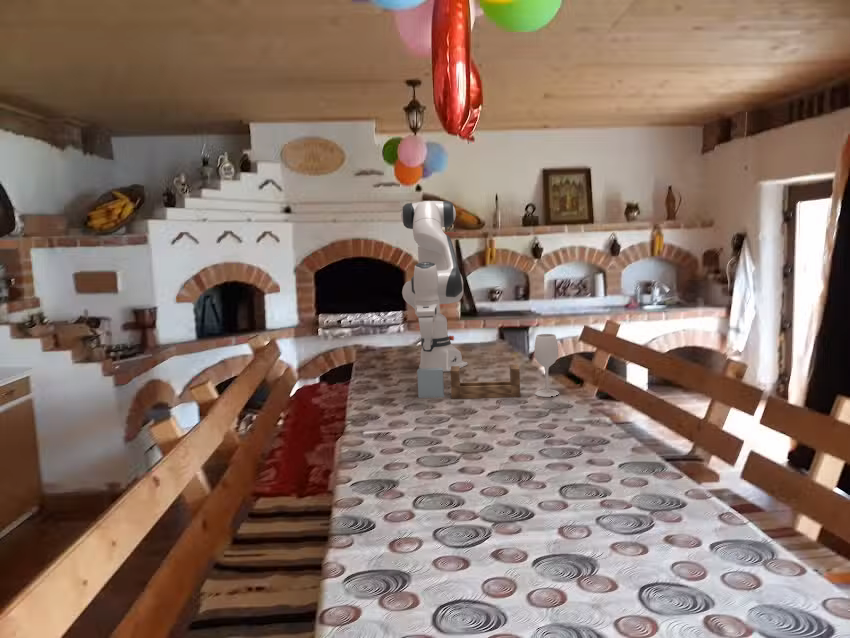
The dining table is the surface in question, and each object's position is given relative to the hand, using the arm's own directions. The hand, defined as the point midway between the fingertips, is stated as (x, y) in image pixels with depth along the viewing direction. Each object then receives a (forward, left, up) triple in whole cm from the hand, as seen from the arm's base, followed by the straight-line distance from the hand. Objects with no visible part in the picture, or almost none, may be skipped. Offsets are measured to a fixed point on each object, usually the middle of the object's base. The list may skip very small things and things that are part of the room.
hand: (429, 347), depth 233 cm
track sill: (-11, +16, -18) cm, 26 cm away
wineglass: (-23, +34, -18) cm, 45 cm away
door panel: (0, 0, -18) cm, 18 cm away
